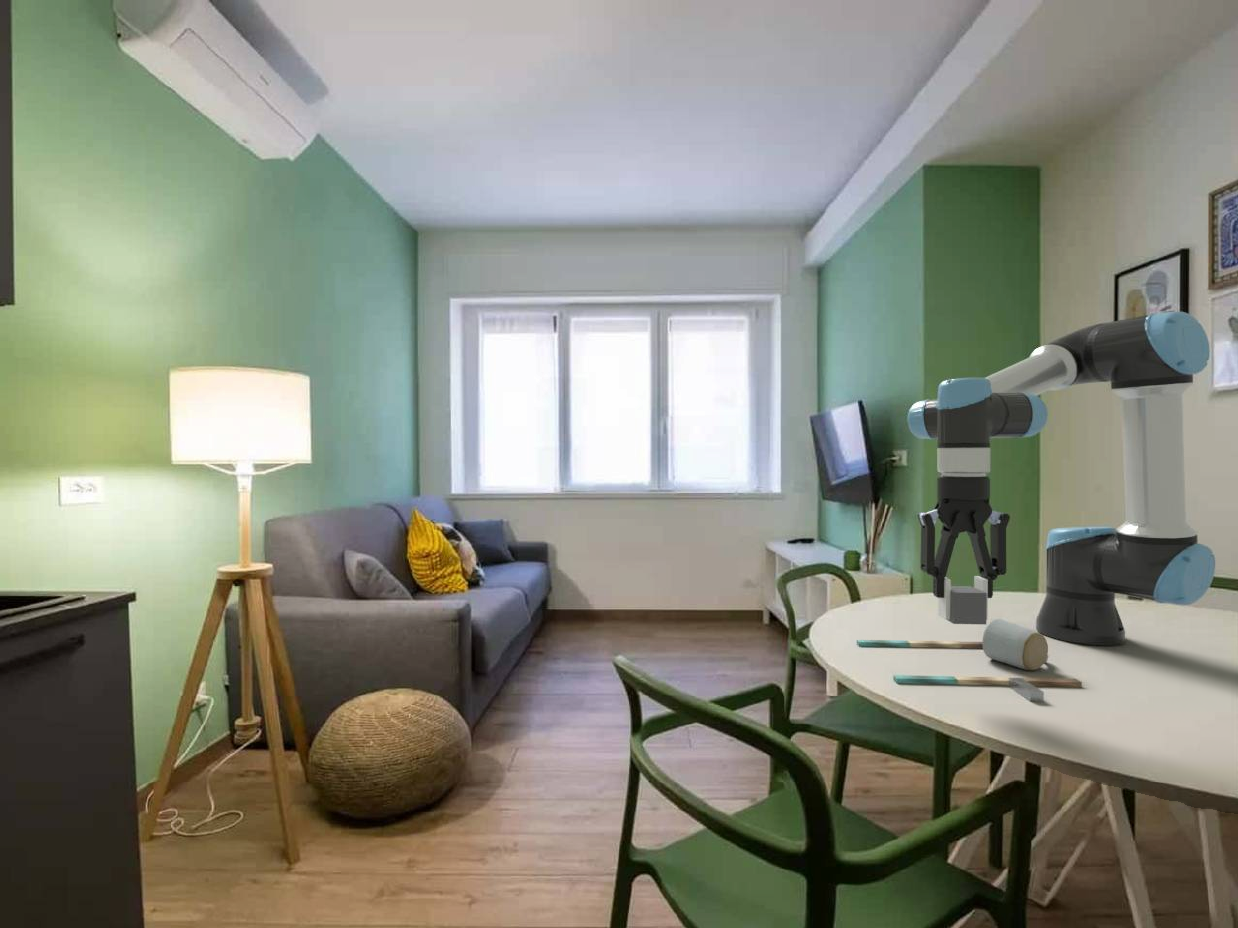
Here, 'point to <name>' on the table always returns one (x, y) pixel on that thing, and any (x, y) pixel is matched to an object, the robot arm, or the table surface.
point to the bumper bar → (1026, 689)
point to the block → (967, 605)
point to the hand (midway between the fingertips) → (962, 617)
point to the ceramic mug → (1014, 645)
